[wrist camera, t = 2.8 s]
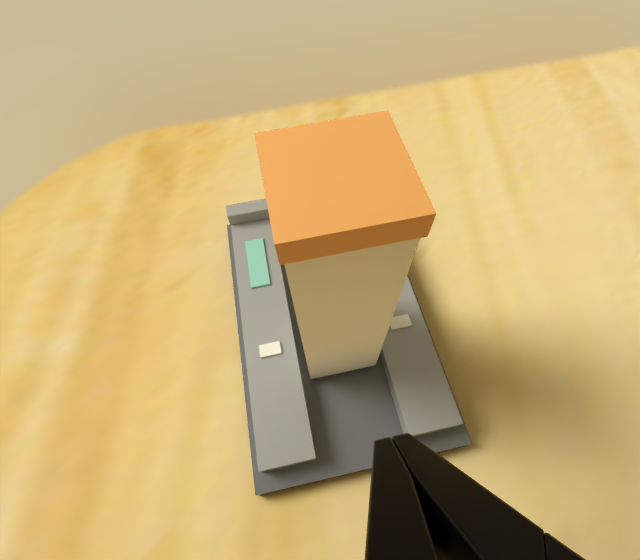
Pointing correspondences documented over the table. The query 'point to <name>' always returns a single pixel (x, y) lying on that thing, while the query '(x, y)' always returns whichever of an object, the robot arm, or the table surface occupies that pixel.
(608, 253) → the table surface
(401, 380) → the console
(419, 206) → the fader knob
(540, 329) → the table surface
